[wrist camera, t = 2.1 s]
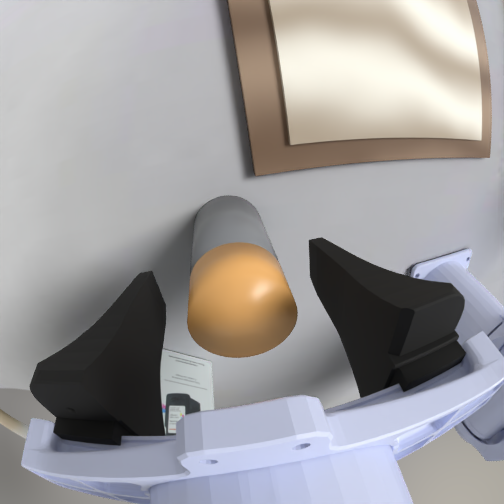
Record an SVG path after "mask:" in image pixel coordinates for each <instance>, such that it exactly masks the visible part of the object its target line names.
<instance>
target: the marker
mask: <svg viewBox="0 0 504 504" xmlns="http://www.w3.org/2000/svg"><path fill="white" fill-rule="evenodd" d="M297 313H298V312H297V306H296V303H295V300H294V298H293V295H292V293H291V290H290V288H289V285H288V283H287V281H286V278H285V276H284V273H283V271H282V268H281V266H280V263H279V261H278V259H277V256H276V254H275V251H274V249H273V246H272V244H271V242H270V239H269V237H268V234H267V232H266V230H265V227H264V225H263V223H262V220H261V218H260V215H259V213H258V211H257V210H256V208H255V207H254V206H253V205H252V204H251V203H250V202H248V201H247V200H245V199H243V198H240V197H237V196H221V197H217V198H215V199H212V200H211V201H209V202H208V203H206V204H205V205H204V206H203V207H202V208H201V209H200V211H199V212H198V214H197V216H196V219H195V224H194V234H193V245H192V257H191V270H190V284H189V300H188V319H187V324H188V329H189V332H190V334H191V336H192V338H193V339H194V341H195V342H196V343H197V344H198V345H199V346H201V347H202V348H203V349H205V350H207V351H209V352H211V353H213V354H216V355H220V356H224V357H232V358H241V357H250V356H255V355H258V354H261V353H264V352H267V351H269V350H271V349H273V348H275V347H276V346H278V345H279V344H280V343H282V342H283V341H284V340H285V339H286V338H287V337H288V336H289V335H290V333H291V332H292V330H293V328H294V327H295V324H296V321H297Z"/></svg>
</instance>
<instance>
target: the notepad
mask: <svg viewBox="0 0 504 504" xmlns="http://www.w3.org/2000/svg"><path fill="white" fill-rule="evenodd" d="M227 3H228V9H229V14H230V20H231V26H232V32H233V38H234V44H235V51H236V57H237V63H238V69H239V76H240V82H241V88H242V95H243V101H244V108H245V114H246V121H247V128H248V134H249V141H250V148H251V154H252V161H253V168H254V174H255V175H256V176H260V175H266V174H272V173H279V172H285V171H292V170H300V169H307V168H315V167H323V166H332V165H341V164H350V163H361V162H372V161H385V160H400V159H420V158H459V157H472V158H490V148H491V126H492V106H491V84H490V72H489V62H488V55H487V48H486V42H485V36H484V31H483V26H482V21H481V17H480V13H479V9H478V5H477V1H476V0H227Z"/></svg>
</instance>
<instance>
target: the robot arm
mask: <svg viewBox="0 0 504 504" xmlns="http://www.w3.org/2000/svg"><path fill="white" fill-rule="evenodd" d="M471 255H472V250H471V249H469V248H468V249H465V250H462V251H459V252H456V253H452V254H449V255H446V256H443V257H439V258H436V259H433V260H429V261H426V262H423V263H419V264H416V265H415V266H414V267H413V268H412V272H411V276H410V277H409V276H405V275H402V274H398V273H395V272H392V271H389V270H386V269H384V268H381V267H378V266H376V265H374V264H371V263H369V262H367V261H365V260H363V259H361V258H359V257H357V256H355V255H353V254H351V253H349V252H347V251H345V250H344V249H342V248H340V247H338V246H337V245H335V244H333V243H331V242H329V241H328V240H326V239H324V238H316V239H311V240H309V257H310V278H311V280H312V283H313V286H314V288H315V291H316V293H317V295H318V297H319V299H320V301H321V302H322V304H323V306H324V308H325V310H326V311H327V313H328V315H329V317H330V318H331V320H332V322H333V324H334V326H335V327H336V329H337V331H338V334H339V336H340V338H341V341H342V343H343V346H344V348H345V351H346V353H347V356H348V359H349V362H350V365H351V367H352V370H353V373H354V377H355V380H356V383H357V386H358V390H359V393H360V397H361V398H360V399H357V400H354V401H351V402H348V403H345V404H342V405H339V406H336V407H333V408H329V409H326V410H324V409H323V406H322V404H321V402H320V400H319V399H318V398H316V397H312V396H307V395H295V396H286V397H281V398H277V399H272V400H267V401H262V402H257V403H252V404H246V405H240V406H234V407H228V408H221V409H213V410H205V411H199V412H195V413H191V414H187V415H185V416H184V417H183V418H181V419H180V420H179V421H178V422H176V435H173V436H166V434H165V428H164V420H163V412H162V400H161V378H160V369H161V357H162V349H163V341H164V333H165V326H166V304H165V302H164V299H163V297H162V295H161V292H160V290H159V287H158V285H157V282H156V280H155V277H154V275H153V272H152V271H148V272H143V273H140V274H139V275H138V276H137V277H136V278H135V279H134V280H133V281H132V282H131V284H130V285H129V286H128V287H127V288H126V290H125V291H124V292H123V293H122V294H121V296H120V297H119V298H118V299H117V300H116V302H115V303H114V304H113V305H112V306H111V307H110V308H109V309H108V310H107V312H106V313H105V314H104V315H103V316H102V317H101V318H100V319H99V320H98V321H97V322H96V323H95V324H94V325H93V326H92V327H90V328H89V329H88V330H87V331H86V332H85V333H83V334H82V335H81V336H80V337H78V338H77V339H76V340H75V341H73V342H72V343H71V344H69V345H68V346H66V347H65V348H63V349H62V350H60V351H59V352H57V353H55V354H54V355H52V356H50V357H48V358H47V359H45V360H43V361H41V362H39V363H38V364H37V367H36V370H35V372H34V375H33V378H32V381H31V384H30V390H31V392H32V394H33V395H34V397H35V398H36V399H37V400H38V401H39V402H40V403H41V404H42V405H43V406H44V407H45V408H46V409H47V410H49V411H50V412H51V413H52V414H53V415H54V416H56V417H57V418H56V422H55V423H53V422H51V421H48V420H43V419H36V418H31V422H30V425H29V429H28V433H27V438H26V442H25V447H24V451H23V457H22V462H21V465H22V466H23V467H24V468H26V469H28V470H30V471H31V472H33V473H35V474H37V475H39V476H40V477H42V478H44V479H46V480H48V481H50V482H52V483H54V484H56V485H58V486H61V487H65V488H68V489H72V490H75V491H79V492H83V493H87V494H91V495H95V496H99V497H104V498H109V499H114V500H119V501H125V502H130V503H137V504H413V501H412V499H411V496H410V493H409V491H408V488H407V486H406V483H405V481H404V478H403V476H402V474H401V471H400V469H399V466H398V464H397V460H399V459H401V458H403V457H405V456H407V455H409V454H410V453H412V452H414V451H416V450H418V449H420V448H421V447H423V446H425V445H426V444H428V443H430V442H431V441H433V440H434V439H436V438H438V437H439V436H441V435H442V434H444V433H445V432H447V431H448V430H450V429H451V428H453V427H455V429H456V431H457V432H458V434H459V435H460V436H461V437H462V438H463V439H464V440H465V441H466V442H468V443H470V444H471V445H473V446H474V447H475V448H476V449H477V450H478V451H479V453H480V454H481V455H482V456H483V457H484V459H485V460H486V461H500V460H504V306H503V305H502V304H501V303H500V302H499V301H498V300H497V299H496V298H495V297H494V296H493V295H492V294H491V293H490V292H489V291H488V290H487V289H486V288H485V287H484V286H483V285H482V284H481V283H480V282H479V281H478V280H477V279H476V278H475V277H474V276H473V275H472V274H471V273H470V272H469V271H467V269H468V265H469V262H470V259H471Z"/></svg>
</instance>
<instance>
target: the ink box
mask: <svg viewBox="0 0 504 504" xmlns="http://www.w3.org/2000/svg"><path fill="white" fill-rule="evenodd" d="M160 378H161V400H162V412H163V420H164V428H165V434H166V436H173V435H176V422H178V421H179V420H180V419H181V418H183V417H184V416H185V415H187V414H191V413H195V412H199V411H205V410H213V409H214V396H213V381H212V363H211V361H207V360H203V359H199V358H196V357H192V356H188V355H184V354H181V353H177V352H173V351H169V350H165V349H162V357H161V369H160Z"/></svg>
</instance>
